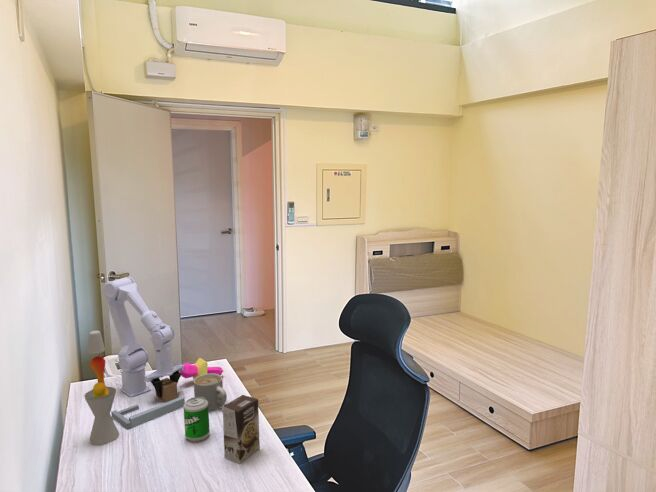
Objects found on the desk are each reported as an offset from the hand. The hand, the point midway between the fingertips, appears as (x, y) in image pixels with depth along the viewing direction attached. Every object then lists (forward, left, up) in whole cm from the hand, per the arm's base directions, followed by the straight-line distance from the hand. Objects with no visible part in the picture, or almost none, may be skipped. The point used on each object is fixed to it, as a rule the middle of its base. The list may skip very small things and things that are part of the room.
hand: (166, 394), depth 177 cm
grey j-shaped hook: (+5, -9, -1) cm, 10 cm away
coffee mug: (+19, +7, -2) cm, 20 cm away
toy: (-3, +17, -2) cm, 17 cm away
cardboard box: (0, 0, -1) cm, 1 cm away
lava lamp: (+10, -27, -2) cm, 29 cm away
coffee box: (+50, -3, -2) cm, 50 cm away
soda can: (+32, -7, -2) cm, 33 cm away
